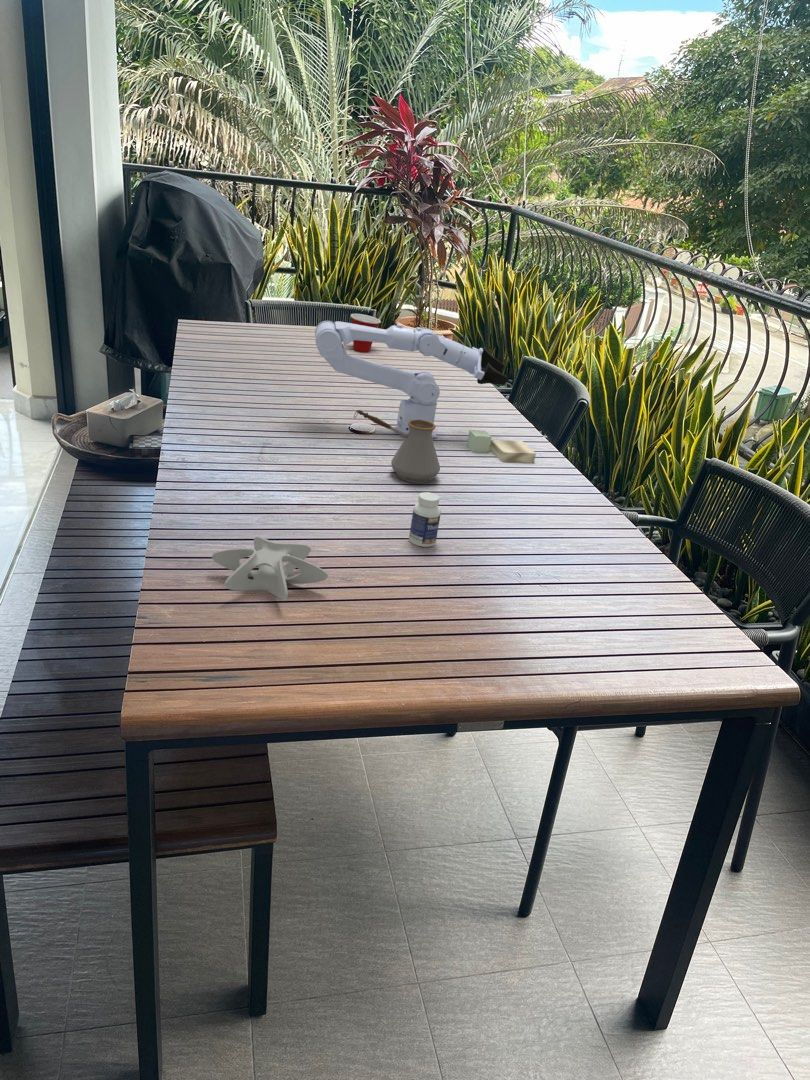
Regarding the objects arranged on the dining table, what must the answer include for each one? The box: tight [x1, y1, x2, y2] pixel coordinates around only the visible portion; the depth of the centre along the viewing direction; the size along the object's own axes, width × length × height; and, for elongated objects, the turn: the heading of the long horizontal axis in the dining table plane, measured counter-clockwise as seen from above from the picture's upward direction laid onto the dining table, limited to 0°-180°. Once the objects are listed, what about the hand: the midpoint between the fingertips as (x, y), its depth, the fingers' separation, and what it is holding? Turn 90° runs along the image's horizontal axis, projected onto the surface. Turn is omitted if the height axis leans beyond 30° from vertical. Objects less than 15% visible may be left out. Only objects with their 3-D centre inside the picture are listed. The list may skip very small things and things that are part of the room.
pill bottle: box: [408, 491, 442, 548], centre depth 163 cm, size 5×5×10 cm
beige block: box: [489, 439, 537, 464], centre depth 217 cm, size 9×9×3 cm
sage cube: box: [466, 429, 492, 454], centre depth 218 cm, size 4×4×4 cm
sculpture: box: [211, 536, 329, 600], centre depth 141 cm, size 18×20×6 cm
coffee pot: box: [353, 409, 441, 484], centre depth 191 cm, size 21×12×15 cm, turn 99°
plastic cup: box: [350, 313, 382, 353], centre depth 296 cm, size 11×11×12 cm
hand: (504, 374), depth 220 cm, fingers open, 7 cm apart
